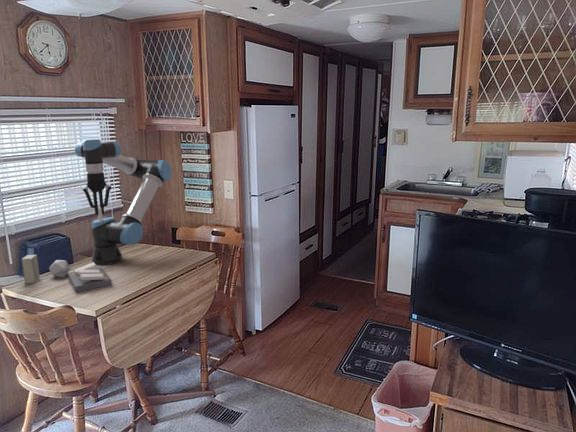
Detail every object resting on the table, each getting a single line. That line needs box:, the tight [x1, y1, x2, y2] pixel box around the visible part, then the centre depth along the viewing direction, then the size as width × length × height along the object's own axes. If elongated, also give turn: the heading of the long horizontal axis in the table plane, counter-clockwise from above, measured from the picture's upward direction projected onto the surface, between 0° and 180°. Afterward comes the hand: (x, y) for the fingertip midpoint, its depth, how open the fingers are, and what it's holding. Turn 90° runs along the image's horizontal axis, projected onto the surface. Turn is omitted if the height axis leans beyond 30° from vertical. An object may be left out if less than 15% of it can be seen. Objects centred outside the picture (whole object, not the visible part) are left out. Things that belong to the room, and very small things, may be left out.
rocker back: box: [74, 262, 97, 275], centre depth 207 cm, size 4×9×1 cm, turn 124°
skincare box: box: [21, 254, 40, 284], centre depth 204 cm, size 6×4×12 cm
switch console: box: [67, 267, 113, 294], centre depth 202 cm, size 21×15×4 cm
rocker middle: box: [78, 270, 100, 275], centre depth 202 cm, size 4×9×1 cm, turn 124°
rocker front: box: [80, 274, 104, 280], centre depth 196 cm, size 4×9×1 cm, turn 124°
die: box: [48, 259, 72, 278], centre depth 211 cm, size 8×9×10 cm
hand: (100, 221), depth 210 cm, fingers closed
